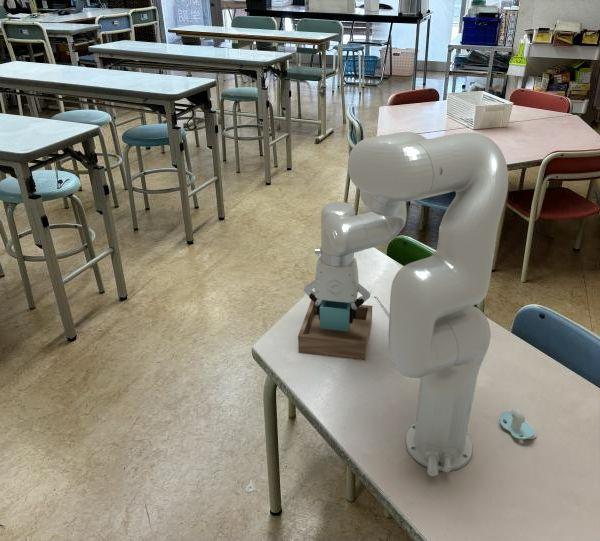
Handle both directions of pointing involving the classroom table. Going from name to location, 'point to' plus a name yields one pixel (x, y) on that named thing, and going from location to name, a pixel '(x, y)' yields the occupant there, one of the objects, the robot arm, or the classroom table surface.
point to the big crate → (336, 335)
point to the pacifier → (517, 424)
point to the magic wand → (384, 308)
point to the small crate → (335, 315)
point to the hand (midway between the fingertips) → (336, 317)
